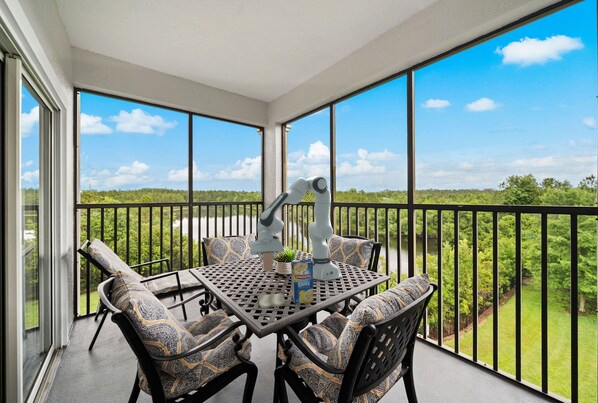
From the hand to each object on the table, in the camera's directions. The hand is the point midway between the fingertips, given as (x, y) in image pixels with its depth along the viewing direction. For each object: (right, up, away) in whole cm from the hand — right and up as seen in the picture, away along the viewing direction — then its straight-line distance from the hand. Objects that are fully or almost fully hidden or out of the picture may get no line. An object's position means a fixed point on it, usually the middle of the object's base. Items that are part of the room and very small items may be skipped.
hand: (267, 259), depth 155 cm
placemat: (+4, -21, -12) cm, 24 cm away
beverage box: (+21, -21, -11) cm, 31 cm away
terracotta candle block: (0, -6, +1) cm, 6 cm away
